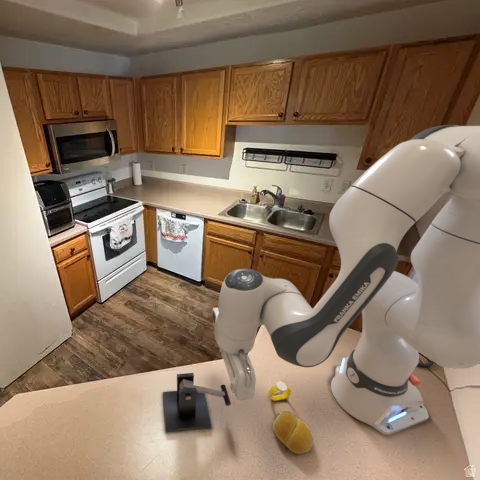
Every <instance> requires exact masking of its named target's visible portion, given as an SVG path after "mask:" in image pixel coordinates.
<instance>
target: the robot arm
mask: <svg viewBox="0 0 480 480" xmlns="http://www.w3.org/2000/svg"><path fill="white" fill-rule="evenodd" d="M444 194H447V195H450V196H451V198H450V199H448V201H447V202H446V203H445V204H444V205H443V207H442V208H441V209H440V210H439V212H437V214H436V216H435V217H434V218H433V220H432V221H431V222H430V225H429V226H428V227H427V229H426V230H425V232H424V233H423V235H422V236H421V237H420V239H419V241H417V243H416V244H415V246H414V248H413V249H412V251H411V254H410V262H411V265H412V267H413V269H414V271H415V274H416V277H417V282H416V281H415V280H413V279H411V278H410V277H409V276H408V275H406V274H403V273H401V272H398V271H396V269H397V267H398V264H399V255H398V250H399V249H398V248H399V246H400V243H401V241H402V240H403V238H404V236H406V234H407V232H408V231H409V230H410V229H411V227H413V226H414V225H415V224H416V222H418V221H419V220H420V219H421V218H422V217H423V216H424V215H425V214H426V213H428V211H429V210H430V209H431V208H432V207H433V206H434V205H435V204H436V203H437V202H438V200H440V198H442V196H443V195H444ZM328 226H329V231H330V233H331V236H332V238H333V240H334V242H335V244H336V247H337V249H338V253H339V257H340V269H339V273H338V275H337V277H336V279H335V280H334V281H333V282H332V283H331V285H330V286H329V288H328V289H327V290H326V291H325V293H324V294H323V295H322V297H321V298H320V299H319V301H318V302H317V303H316V304H315V306H313V307H312V306H311V305H310V304H309V302H308V301H307V300H306V298H305V297H304V296H303V294H302V293H301V292H300V290H299V289H298V288H297V287H296V285H295V284H293V282H292V281H290V280H289V279H286V278H283V277H267V276H265V275H263V274H262V273H260V272H259V271H258V270H255V269H252V268H245V267H244V268H237V269H234V270H232V271H230V272H229V273H228V274H227V275H226V276H225V278H224V279H223V282H222V284H221V287H220V291H219V297H218V302H217V307H213V308H212V309H211V315H212V323H213V324H212V326H213V331H214V340H215V342H216V344H217V346H219V347H218V348H219V352H218V353H219V356H220V358H221V359H222V360H223V363H224V365H225V369H226V371H227V375H228V378H229V381H230V384H229V388H230V390H231V394H234V396H235V398H236V399H237V400H239V401H248V400H252V399H254V397H255V391H256V383H257V379H256V372H255V369H254V366H253V364H252V362H251V359H250V357H249V355H248V353H250V352H252V350H253V349H254V346H255V342H256V337H257V333H258V329H259V327H261V326H264V327H265V329H266V331H267V333H268V335H269V336H270V340H271V343H272V345H273V347H274V350H275V352H276V355H277V356H278V357H279V358H280V359H281V360H283V361H284V362H287V363H289V364H291V365H294V366H297V367H302V368H314V367H316V366H319V365H321V364H324V362H325V361H326V360H328V359H329V357H330V356H331V355H332V353H333V352H334V350H335V349H336V346H337V344H338V343H339V341H340V339H341V337H342V336H343V334H344V333H345V332H346V331H347V329H348V328H349V327H350V326H351V325H352V323H354V321H355V320H356V319H357V317H358V316H360V314H361V319H362V323H361V334H360V336H359V340H358V342H357V344H356V347H355V349H353V350H352V351H351V353H350V354H349V355H348V356H347V357H346V358H345V357H343V358H342V361H341V365H338V366H336V367H335V370H334V374H335V375H334V376H333V378H332V379H331V382H330V390H331V393H332V395H333V397H334V399H335V401H336V402H337V404H339V406H340V407H341V408H342V409H343V410H344V411H345V412H346V413H348V415H351V416H352V417H353V418H355V419H356V420H358V421H360V422H362V423H364V424H367V425H369V426H371V427H372V428H374V429H375V430H376V431H378V432H380V434H382V435H384V436H390V435H393V434H396V433H398V432H400V431H401V432H402V431H403V430H406V429H408V428H410V427H413V426H415V425H418V424H421V423H423V422H425V421H428V420H429V418H430V417H429V416H430V415H429V413H428V410H427V408H426V406H425V405H424V403H423V400H424V399H423V397H422V394H421V392H420V391H419V389H418V388H417V387H416V386H419V385H421V384H422V381H421V380H420V379H419V378H418V377H417V376H416V375H415V374H412V373H413V372H414V370H415V369H416V368H417V366H419V367H423V368H428V367H432V366H433V364H436V365H438V366H439V367H441V368H446V369H453V370H462V369H463V370H464V369H470V368H474V367H475V366H478V365H480V125H458V124H444V125H437V126H432V127H430V128H426V129H424V130H421V131H420V132H418V133H416V134H415V135H414V136H412V137H411V138H410V139H408V140H406V141H402V142H400V143H399V144H396V145H395V146H394V147H392V148H391V149H390V150H389V151H388V152H386V153H385V154H384V155H382V156H381V157H380V158H379V159H378V160H376V161H375V162H374V163H373V164H372V165H371V166H369V168H367V169H366V170H365V171H364V172H363V173H362V174H361V175H360V176H359V177H358V178H357V179H356V180H355V181H354V182H353V183H351V185H350V186H349V187H348V189H347V190H345V192H343V194H341V196H340V197H339V199H337V201H336V202H335V204H334V205H333V207H332V208H331V210H330V212H329V217H328ZM420 354H421V355H422V356H424V357H426V359H428V360H429V362H428V363H422V362H419V361H420Z"/></svg>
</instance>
